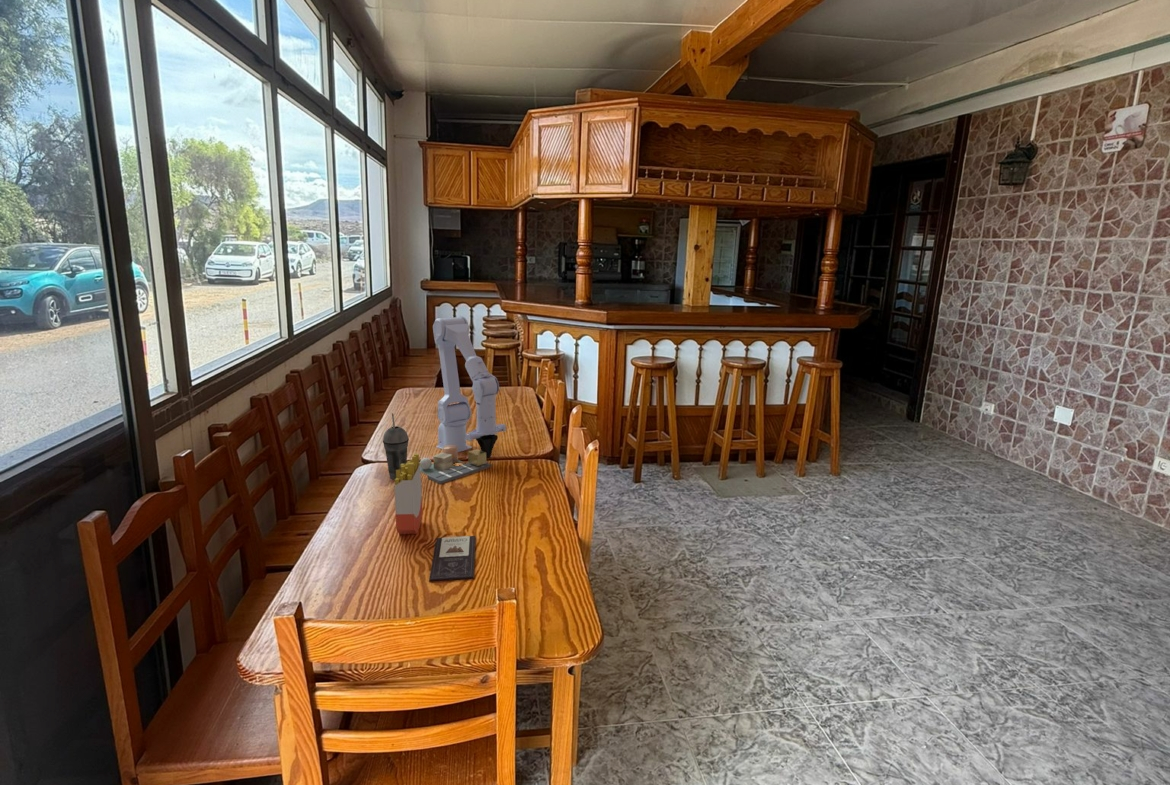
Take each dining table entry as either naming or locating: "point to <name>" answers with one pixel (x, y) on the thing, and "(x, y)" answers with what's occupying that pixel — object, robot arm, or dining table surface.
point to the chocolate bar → (453, 559)
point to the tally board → (457, 472)
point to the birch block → (442, 461)
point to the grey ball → (425, 463)
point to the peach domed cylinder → (451, 452)
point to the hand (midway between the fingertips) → (486, 457)
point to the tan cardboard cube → (477, 457)
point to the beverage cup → (395, 448)
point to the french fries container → (408, 497)
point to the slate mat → (432, 470)
